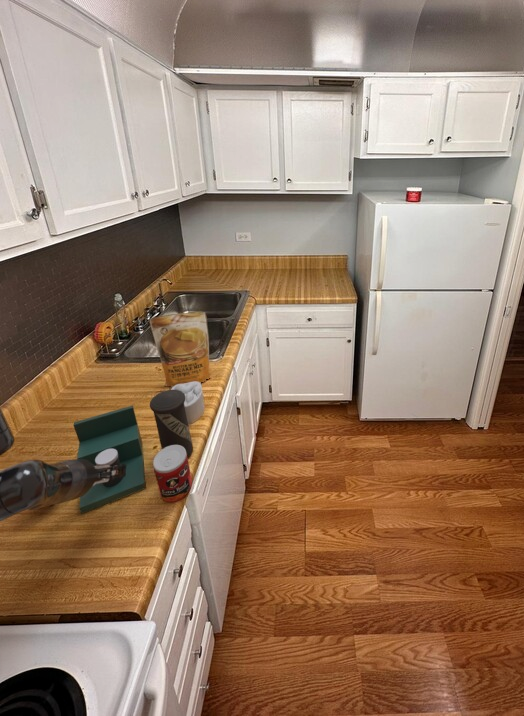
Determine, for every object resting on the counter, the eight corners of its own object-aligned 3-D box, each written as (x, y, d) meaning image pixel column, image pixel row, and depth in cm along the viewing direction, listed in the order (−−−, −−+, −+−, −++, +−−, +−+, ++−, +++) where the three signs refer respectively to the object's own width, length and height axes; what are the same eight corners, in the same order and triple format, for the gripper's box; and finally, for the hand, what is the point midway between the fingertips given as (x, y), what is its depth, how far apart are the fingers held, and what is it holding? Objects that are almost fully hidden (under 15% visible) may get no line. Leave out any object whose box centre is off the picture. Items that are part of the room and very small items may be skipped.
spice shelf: (81, 513, 79) (64, 471, 74) (87, 461, 93) (73, 422, 88) (145, 488, 86) (134, 447, 80) (142, 442, 100) (132, 405, 94)
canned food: (159, 508, 81) (151, 475, 77) (160, 480, 88) (153, 449, 83) (193, 497, 83) (186, 465, 79) (191, 471, 90) (185, 440, 86)
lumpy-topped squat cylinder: (204, 396, 119) (201, 376, 116) (205, 420, 108) (201, 399, 105) (173, 402, 116) (169, 381, 113) (170, 428, 105) (166, 406, 102)
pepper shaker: (102, 490, 83) (94, 467, 80) (103, 475, 87) (95, 453, 84) (124, 482, 85) (117, 459, 82) (123, 468, 89) (117, 445, 86)
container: (176, 470, 91) (163, 412, 83) (155, 456, 95) (141, 400, 87) (200, 448, 97) (191, 393, 90) (180, 436, 102) (169, 382, 94)
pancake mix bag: (163, 380, 128) (149, 314, 118) (214, 371, 133) (205, 308, 123) (160, 390, 122) (146, 322, 112) (214, 381, 127) (205, 315, 117)
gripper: (106, 454, 68) (134, 451, 83) (28, 465, 66) (71, 461, 80) (102, 496, 65) (132, 485, 80) (20, 509, 63) (66, 496, 78)
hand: (102, 473), depth 80 cm, fingers open, 8 cm apart
